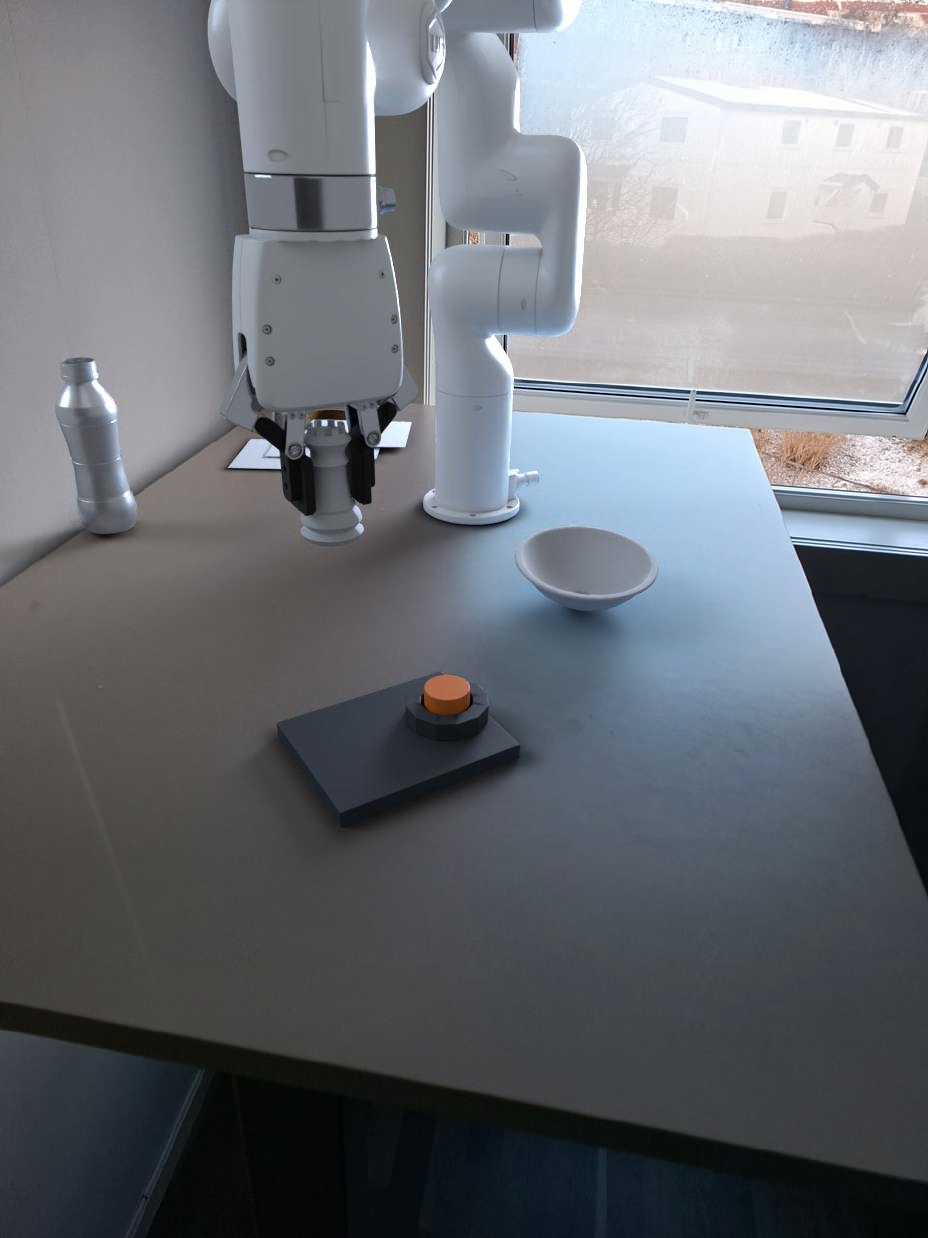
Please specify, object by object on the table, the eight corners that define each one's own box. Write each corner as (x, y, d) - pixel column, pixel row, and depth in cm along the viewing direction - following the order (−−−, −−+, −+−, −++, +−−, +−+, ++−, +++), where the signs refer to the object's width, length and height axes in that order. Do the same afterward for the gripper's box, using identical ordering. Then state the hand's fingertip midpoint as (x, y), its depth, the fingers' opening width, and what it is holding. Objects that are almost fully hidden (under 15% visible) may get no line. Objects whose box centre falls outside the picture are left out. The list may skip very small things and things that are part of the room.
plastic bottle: (122, 543, 98) (88, 369, 88) (70, 537, 99) (30, 365, 90) (151, 522, 104) (121, 356, 94) (101, 517, 105) (67, 352, 95)
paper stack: (400, 471, 121) (400, 467, 121) (228, 467, 121) (227, 463, 121) (411, 425, 142) (411, 421, 141) (263, 422, 142) (263, 418, 141)
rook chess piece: (374, 529, 61) (370, 419, 57) (346, 552, 57) (340, 437, 53) (319, 520, 62) (312, 412, 58) (288, 542, 58) (278, 429, 54)
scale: (443, 683, 74) (443, 654, 72) (522, 757, 65) (524, 726, 63) (277, 736, 67) (274, 705, 65) (341, 828, 58) (338, 795, 56)
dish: (666, 647, 80) (673, 600, 77) (515, 643, 80) (517, 596, 78) (637, 567, 95) (642, 526, 93) (510, 563, 95) (512, 522, 93)
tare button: (454, 686, 69) (454, 670, 68) (478, 708, 66) (478, 691, 65) (416, 698, 67) (415, 682, 66) (438, 721, 64) (438, 705, 64)
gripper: (407, 204, 56) (410, 469, 65) (152, 207, 48) (196, 507, 57) (466, 211, 50) (460, 500, 59) (188, 216, 43) (230, 547, 52)
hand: (330, 501), depth 58 cm, fingers closed on rook chess piece, 3 cm apart
